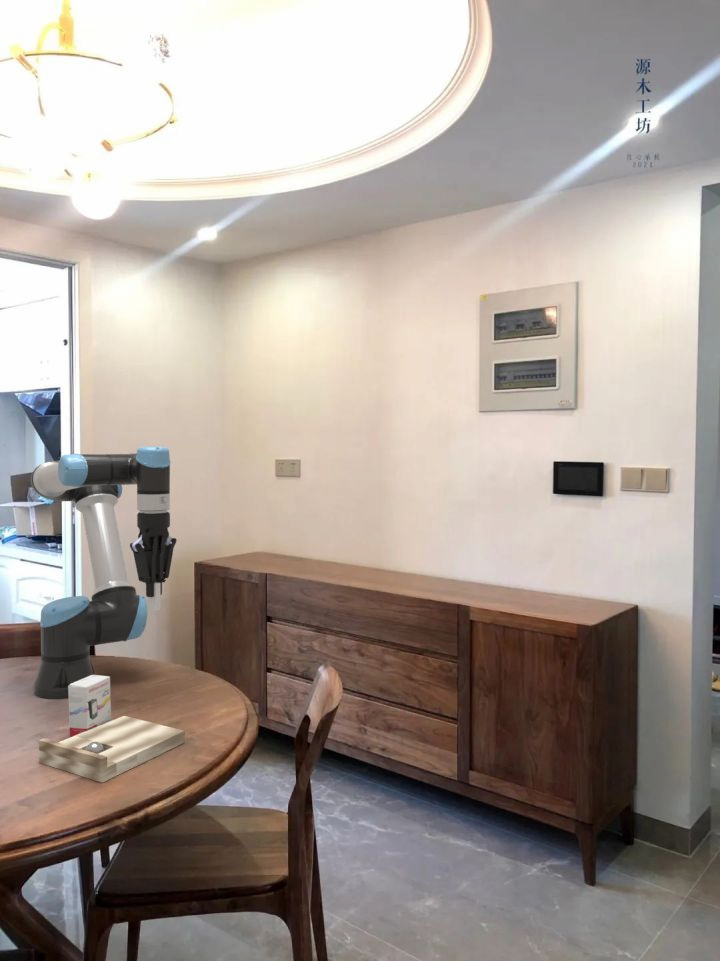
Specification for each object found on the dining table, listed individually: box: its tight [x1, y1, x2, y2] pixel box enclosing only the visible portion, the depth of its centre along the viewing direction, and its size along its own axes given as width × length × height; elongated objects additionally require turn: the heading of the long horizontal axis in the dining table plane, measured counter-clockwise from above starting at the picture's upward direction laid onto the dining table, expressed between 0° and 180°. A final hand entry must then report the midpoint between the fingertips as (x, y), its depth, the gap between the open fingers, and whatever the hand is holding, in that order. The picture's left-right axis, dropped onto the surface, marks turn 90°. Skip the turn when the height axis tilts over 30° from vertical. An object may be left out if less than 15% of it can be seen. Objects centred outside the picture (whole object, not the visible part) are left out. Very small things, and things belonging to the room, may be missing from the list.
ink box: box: [68, 674, 112, 738], centre depth 162 cm, size 9×5×12 cm, turn 162°
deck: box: [38, 715, 186, 783], centre depth 152 cm, size 18×22×4 cm
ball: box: [85, 742, 104, 754], centre depth 148 cm, size 4×4×4 cm
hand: (154, 609), depth 177 cm, fingers closed
